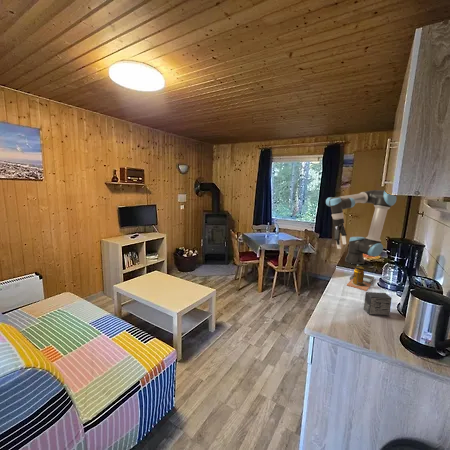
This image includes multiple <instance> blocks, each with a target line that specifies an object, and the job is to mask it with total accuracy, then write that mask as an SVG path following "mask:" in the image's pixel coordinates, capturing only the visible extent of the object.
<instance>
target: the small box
mask: <svg viewBox="0 0 450 450" xmlns="http://www.w3.org/2000/svg"><path fill="white" fill-rule="evenodd" d="M392 300H393V299H392V297H391V296H390V295H389V294H388V293H386V292H376V291H375V292H373V291H372V292H371V291H365V296H364V303H363V305H364V306H363V310H364V311H365V313H367V315H368V314H369V316H380V317H390V314H391V306H392Z"/></svg>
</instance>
